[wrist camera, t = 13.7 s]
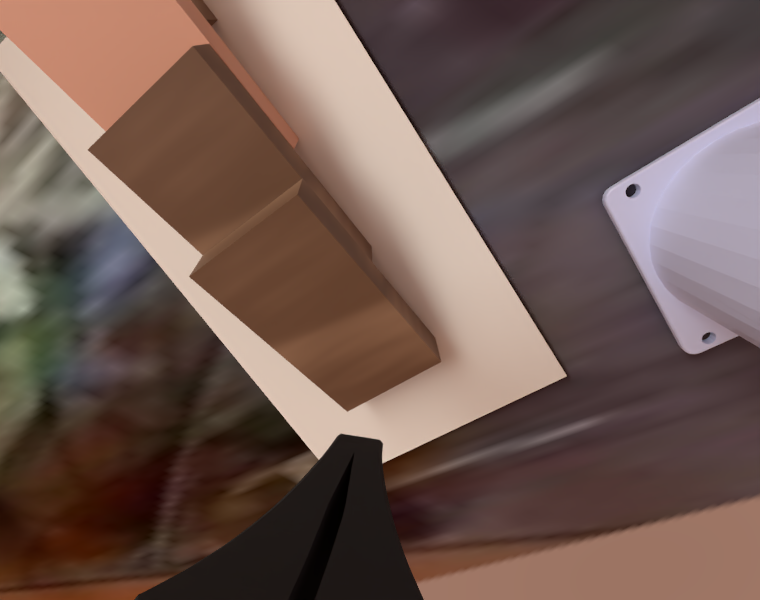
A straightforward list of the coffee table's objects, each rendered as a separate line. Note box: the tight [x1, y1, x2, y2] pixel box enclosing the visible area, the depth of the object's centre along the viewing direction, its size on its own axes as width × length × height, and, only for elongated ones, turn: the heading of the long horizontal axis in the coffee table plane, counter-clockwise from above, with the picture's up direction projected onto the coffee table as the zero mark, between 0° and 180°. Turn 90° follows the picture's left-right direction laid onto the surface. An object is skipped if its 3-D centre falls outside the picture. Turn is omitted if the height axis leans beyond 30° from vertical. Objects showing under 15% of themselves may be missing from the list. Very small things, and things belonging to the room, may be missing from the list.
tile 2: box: [88, 44, 373, 262], centre depth 15 cm, size 2×5×9 cm
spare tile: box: [0, 0, 299, 149], centre depth 14 cm, size 2×5×9 cm
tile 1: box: [189, 178, 441, 412], centre depth 16 cm, size 2×5×9 cm
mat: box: [0, 0, 567, 463], centre depth 18 cm, size 13×25×1 cm, turn 34°
